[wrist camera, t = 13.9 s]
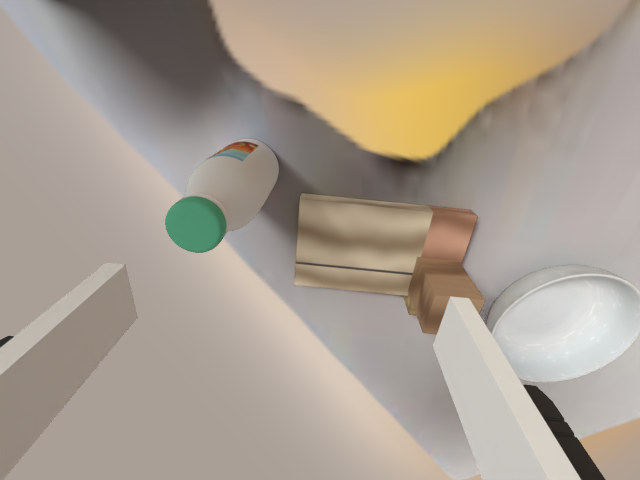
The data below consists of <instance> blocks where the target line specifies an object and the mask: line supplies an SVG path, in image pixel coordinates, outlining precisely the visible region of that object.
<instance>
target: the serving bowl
mask: <svg viewBox="0 0 640 480" xmlns="http://www.w3.org/2000/svg"><path fill="white" fill-rule="evenodd" d="M486 326H487V328H488V330H489V331H490V333H491V335H492V336H493V338H494V339H495V341H496V343H497V344H498V346H499V347H500V349H501V351H502V352H503V354H504V356H505V357H506V359H507V360H508V362H509V364H510V365H511V367H512V369H513V370H514V372H515V373H516V375H517V377H518V378H519V379H522V380H526V381H531V382H559V381H566V380H571V379H575V378H578V377H581V376H584V375H587V374H590V373H592V372H594V371H596V370H599V369H600V368H602V367H604V366H606V365H608V364H609V363H611V362H612V361H614V360H615V359H617V358H618V357H619V356H620V355H622V354H623V353H624V352H625V351H626V350H627V349H628V348H629V347H630V346H631V345H632V344H633V342H634V341H635V340H636V338H637V337H638V336H639V334H640V290H639V289H638V288H637V287H636V286H635V285H633V284H632V283H631V282H629V281H627V280H626V279H624V278H622V277H620V276H617V275H615V274H613V273H611V272H608V271H605V270H602V269H598V268H594V267H589V266H580V265H563V266H555V267H550V268H545V269H542V270H539V271H536V272H533V273H531V274H528V275H526V276H524V277H522V278H521V279H519V280H517V281H516V282H514V283H513V284H512V285H510V286H509V287H508V288H507V289H506V290H505V291H504V292H503V293H502V294H501V295H500V296H499V297H498V298H497V300H496V301H495V303H494V304H493V306H492V308H491V310H490V312H489V315H488V318H487V324H486Z"/></svg>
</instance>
